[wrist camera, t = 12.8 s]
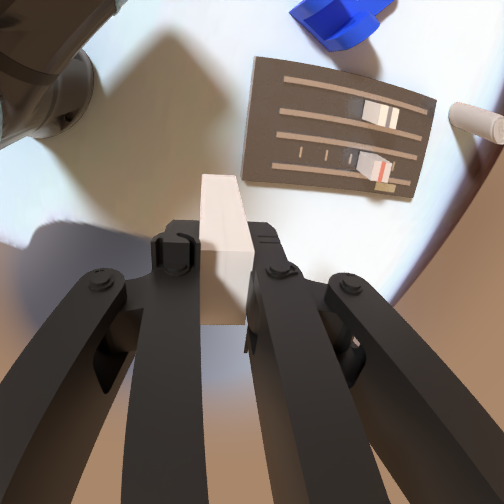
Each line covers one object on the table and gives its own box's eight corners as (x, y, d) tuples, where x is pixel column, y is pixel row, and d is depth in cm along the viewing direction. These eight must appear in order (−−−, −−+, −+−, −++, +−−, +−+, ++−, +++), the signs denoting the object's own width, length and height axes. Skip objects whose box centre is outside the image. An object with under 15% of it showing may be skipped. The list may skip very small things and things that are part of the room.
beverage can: (450, 130, 46) (495, 149, 36) (444, 106, 44) (490, 121, 34) (467, 121, 46) (512, 139, 36) (461, 98, 43) (507, 112, 33)
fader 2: (356, 169, 47) (370, 180, 42) (360, 150, 45) (375, 160, 41) (372, 172, 47) (387, 183, 43) (376, 153, 46) (392, 163, 41)
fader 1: (361, 119, 42) (378, 125, 38) (365, 99, 41) (382, 104, 37) (378, 123, 43) (395, 129, 39) (382, 103, 41) (400, 109, 37)
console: (240, 175, 47) (242, 181, 45) (253, 57, 38) (256, 56, 36) (407, 193, 52) (414, 199, 50) (429, 98, 43) (438, 100, 41)
